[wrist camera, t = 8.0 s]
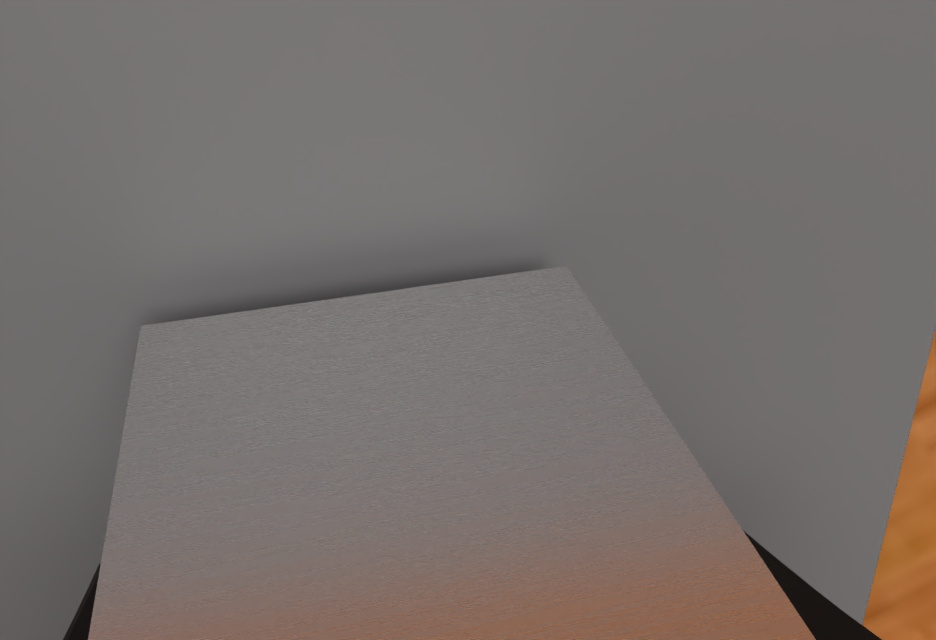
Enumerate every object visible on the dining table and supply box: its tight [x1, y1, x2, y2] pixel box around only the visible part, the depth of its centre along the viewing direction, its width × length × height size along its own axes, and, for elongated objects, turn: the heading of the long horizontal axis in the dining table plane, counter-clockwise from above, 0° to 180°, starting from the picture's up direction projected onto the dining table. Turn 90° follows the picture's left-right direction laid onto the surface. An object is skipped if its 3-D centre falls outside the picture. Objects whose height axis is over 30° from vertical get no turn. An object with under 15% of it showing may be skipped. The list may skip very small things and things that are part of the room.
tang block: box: [0, 0, 936, 640], centre depth 11 cm, size 18×18×4 cm
